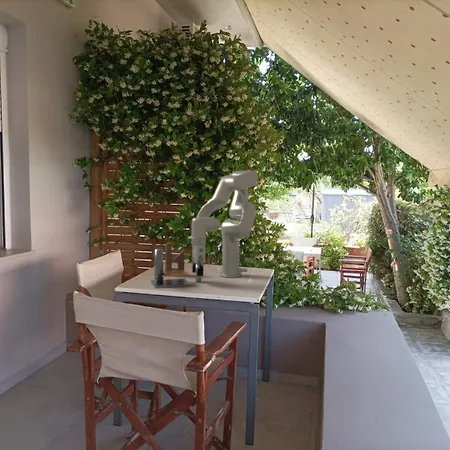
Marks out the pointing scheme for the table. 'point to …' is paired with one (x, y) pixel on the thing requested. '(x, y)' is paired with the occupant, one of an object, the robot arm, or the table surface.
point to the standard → (167, 274)
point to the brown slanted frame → (178, 259)
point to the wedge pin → (198, 278)
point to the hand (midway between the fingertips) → (197, 274)
